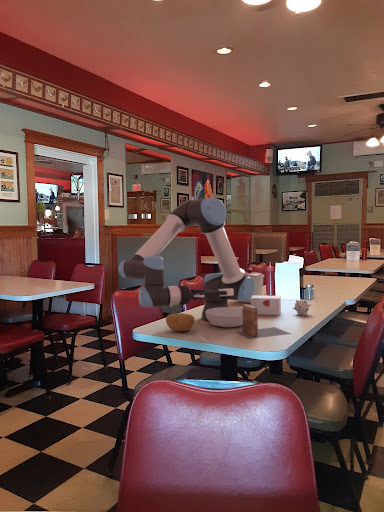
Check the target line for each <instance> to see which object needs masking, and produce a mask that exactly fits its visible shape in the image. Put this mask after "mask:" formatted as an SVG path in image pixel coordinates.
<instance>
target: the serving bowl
mask: <svg viewBox="0 0 384 512" xmlns="http://www.w3.org/2000/svg"><path fill="white" fill-rule="evenodd" d="M205 313H206V317H207V319H208V321H207V322H209V323H211V324H212V325H214V326H217V327H220V328H235V327H240V326H243V313H242V307H236V306H234V307H232V306H229V307H218V308H211V309H208V310H206V311H205Z"/></svg>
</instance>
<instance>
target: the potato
mask: <svg viewBox="0 0 384 512" xmlns="http://www.w3.org/2000/svg"><path fill="white" fill-rule="evenodd" d="M195 321H196V319H195V317H194V316H193V315H192V314H189V313H183V312H182V313H181V312H180V313H179V312H177V313H170V314H168V315H166V318H165V322H166V325H167V326H168V328H169V329H170V330H172V331H175V332H178V333H179V332H180V333H183V332H188V331H189V330H191V329H192V328H193V327H194V325H195V323H196V322H195Z"/></svg>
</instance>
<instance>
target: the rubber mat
mask: <svg viewBox="0 0 384 512" xmlns="http://www.w3.org/2000/svg"><path fill="white" fill-rule="evenodd" d="M235 333H236V334H237V335H240V336H242V337H244V338H246V339H248V340H251V339H259V338H260V339H261V338H268V337H276V336H283V335H284V336H285V335H292V333H291V332H288V331H285V330H284V329H281V328H278V327H276V326H275V327H266V328H265V327H264V328H258V336H257V337H252V336H250V335H248V334H246V333H244V332H243V330H238V331H235Z"/></svg>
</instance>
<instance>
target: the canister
mask: <svg viewBox="0 0 384 512" xmlns="http://www.w3.org/2000/svg"><path fill="white" fill-rule="evenodd" d="M244 272H245V274H246V276H247V277H251V278H252V279H253V280H254V292H253V295H260V296H263V295H262V294H263V287H264V286H263V285H264V277H265V274H263V273H261V272H256V271H255V272H254V271H253V268H252V267H247V268H246V271H244ZM253 295H252V296H253ZM240 302H242V303H244V304H245V303H246V304H251V298H250V299H249V300H247V301H240Z"/></svg>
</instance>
